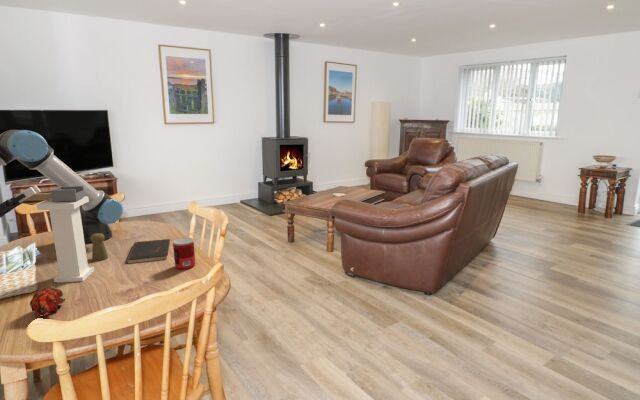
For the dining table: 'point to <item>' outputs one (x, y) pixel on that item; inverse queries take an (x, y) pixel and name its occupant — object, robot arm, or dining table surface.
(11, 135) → the robot arm
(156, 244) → the hardcover book
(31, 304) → the dragon fruit
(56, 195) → the brown and grey bar
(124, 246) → the dining table surface
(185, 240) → the canned food
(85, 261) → the stand
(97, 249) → the cork
